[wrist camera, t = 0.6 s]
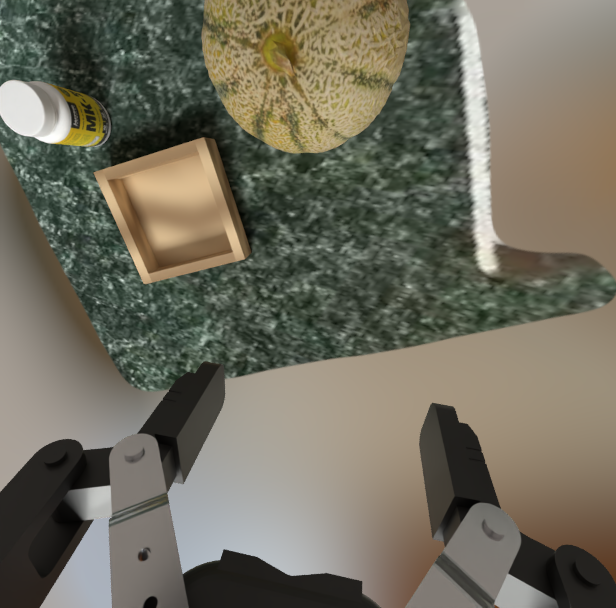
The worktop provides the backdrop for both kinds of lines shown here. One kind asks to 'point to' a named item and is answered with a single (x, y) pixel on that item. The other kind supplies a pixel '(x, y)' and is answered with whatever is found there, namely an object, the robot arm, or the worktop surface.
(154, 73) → the worktop surface
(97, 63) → the worktop surface
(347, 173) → the worktop surface
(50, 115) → the supplement bottle
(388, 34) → the cantaloupe
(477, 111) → the worktop surface
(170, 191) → the box
